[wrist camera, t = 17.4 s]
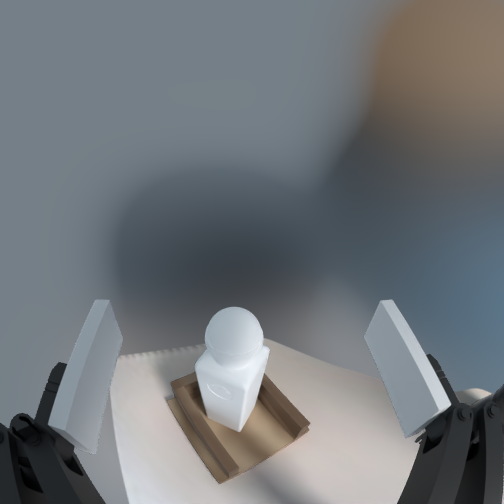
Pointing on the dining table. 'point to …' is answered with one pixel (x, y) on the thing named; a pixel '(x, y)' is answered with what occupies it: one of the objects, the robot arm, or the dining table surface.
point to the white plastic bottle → (232, 366)
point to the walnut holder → (230, 441)
